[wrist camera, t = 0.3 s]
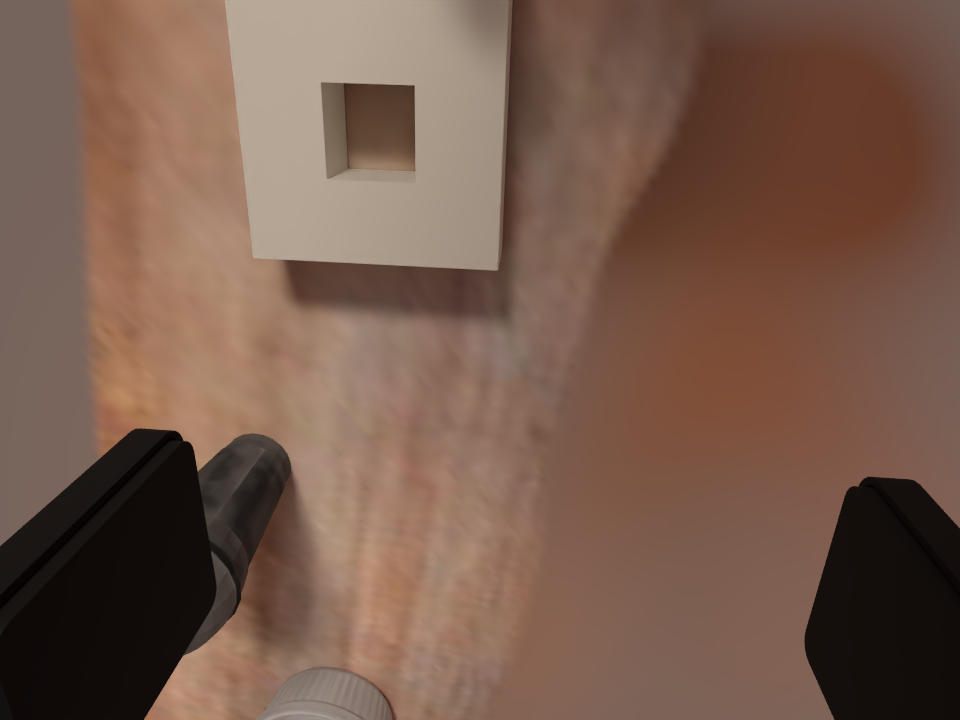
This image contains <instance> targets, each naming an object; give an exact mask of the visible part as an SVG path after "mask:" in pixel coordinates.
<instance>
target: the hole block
mask: <svg viewBox="0 0 960 720" xmlns="http://www.w3.org/2000/svg"><path fill="white" fill-rule="evenodd" d="M512 5H513V0H225V6H226V15H227V24H228V33H229V42H230V51H231V60H232V69H233V78H234V87H235V96H236V105H237V114H238V123H239V132H240V141H241V150H242V159H243V169H244V178H245V187H246V196H247V205H248V214H249V223H250V232H251V241H252V250H253V258H262V259H282V260H301V261H321V262H340V263H359V264H379V265H398V266H418V267H437V268H456V269H476V270H495V271H498V267H499V263H500V258H501V254H502V240H503V217H504V193H505V170H506V146H507V122H508V99H509V75H510V52H511V28H512ZM344 83H358V84H388V85H415V166H416V171H396V170H372V169H348V158H347V138H346V118H345V97H344Z"/></svg>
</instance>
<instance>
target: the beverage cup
mask: <svg viewBox="0 0 960 720" xmlns="http://www.w3.org/2000/svg"><path fill="white" fill-rule="evenodd" d="M289 474H290V461H289V458H288V455H287V453H286V452H285V450H284V449H283V448H282V446H281V445H279V444H278V443H277V442H275V441H274V440H273V439H271V438H268V437H266V436H264V435H259V434H246V435H242V436H240V437H238V438H236V439H234V440H233V441H232V442H231V443H230V444H229V445H228V446H227V447H225V448H223V449H222V450H221V451H220V452H219V453H218V454H216V455H215V456H214V457H213V458H212V459H211V460H210V461H209V462H208V463H207V464H206V465H205V466H204V467H202V468H201V469H200V470H199V471H198V478H199V483H200V489H201V495H202V501H203V507H204V513H205V519H206V524H207V530H208V536H209V542H210V548H211V554H212V560H213V565H214V571H215V577H216V584H217V590H216V597H215V601H214V604H213V607H212V609H211V611H210V612H209V614H208V616H207V617H206V619H205V621H204V622H203V624H202V625H201V627H200V629H199V630H198V632H197V634H196V635H195V637H194V639H193V640H192V642H191V643H190V645H189V647H188V648H187V650H186V652H185V653H184V655H186V654H188V653H190V652H192V651H194V650H196V649H198V648H199V647H201V646H202V645H203V644H205V643H206V642H207V641H208V640H209V639H210V638H211V637H213V636H214V635H215V634H216V633H217V632H218V631H219V630H220V629H221V628H222V627H223V626H224V624H225V623H226V621H227V620H229V619H230V618H231V617H232V616H233V615H234V614H235V612H236V610H237V607H238V605H239V603H240V600H241V592H242V589H243V587H244V584H245V580H246V577H247V573H248V567H249V564H250V562H251V560H252V558H253V556H254V553H255V551H256V549H257V547H258V545H259V542H260V540H261V538H262V536H263V534H264V531H265V529H266V527H267V525H268V523H269V520H270V518H271V516H272V514H273V512H274V509H275V507H276V505H277V503H278V501H279V499H280V496H281V494H282V492H283V489H284V487H285V482H286V480H287V478H288V476H289Z"/></svg>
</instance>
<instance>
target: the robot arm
mask: <svg viewBox="0 0 960 720" xmlns="http://www.w3.org/2000/svg"><path fill="white" fill-rule="evenodd" d="M216 590H217V584H216V577H215V571H214V565H213V560H212V554H211V548H210V542H209V536H208V530H207V524H206V519H205V513H204V507H203V501H202V495H201V489H200V483H199V478H198V472H197V466H196V460H195V454H194V450H193V447H192V445H191V443H189V442H187V441H183V438H182V437H181V435H180V434H179V433H178V432H176V431H170V430H155V429H134V430H133V431H131V432H130V433H128V434H127V435H126V436H125V437H124V438H123V439H122V440H120V441H119V442H118V443H117V444H116V445H115V446H114V447H112V448H111V449H110V450H109V451H108V452H107V453H106V454H105V455H103V456H102V457H101V458H100V459H99V460H98V461H97V462H95V463H94V464H93V465H92V466H91V467H90V468H89V469H88V470H86V471H85V472H84V473H83V474H82V475H81V476H80V477H79V478H77V479H76V480H75V481H74V482H73V483H72V484H70V485H69V486H68V487H67V488H66V489H65V490H64V491H63V492H61V493H60V494H59V495H58V496H57V497H56V498H55V499H54V500H52V501H51V502H50V503H49V504H48V505H47V506H46V507H44V508H43V509H42V510H41V511H40V512H39V513H38V514H36V516H34V517H33V518H32V519H31V520H30V521H29V522H27V523H26V524H25V525H24V526H23V527H22V528H21V529H19V530H18V531H17V532H16V533H15V534H14V535H13V536H12V537H10V538H9V539H8V540H7V541H6V542H5V543H3V544H2V545H1V546H0V720H144V718H145V717H146V715H147V714H148V712H149V710H150V709H151V707H152V705H153V704H154V702H155V701H156V699H157V697H158V696H159V694H160V692H161V691H162V689H163V687H164V686H165V684H166V683H167V681H168V679H169V678H170V676H171V674H172V673H173V671H174V670H175V668H176V666H177V665H178V663H179V661H180V660H181V658H182V656H183V655H184V653H185V652H186V650H187V648H188V647H189V645H190V643H191V642H192V640H193V639H194V637H195V635H196V634H197V632H198V630H199V629H200V627H201V625H202V624H203V622H204V621H205V619H206V617H207V616H208V614H209V612H210V611H211V609H212V607H213V604H214V601H215V597H216ZM805 651H806V656H807V659H808V662H809V664H810V666H811V668H812V671H813V673H814V675H815V677H816V680H817V682H818V684H819V686H820V688H821V691H822V693H823V695H824V697H825V699H826V702H827V704H828V706H829V709H830V711H831V713H832V715H833V717H834V720H960V528H959V527H958V526H957V525H956V524H955V523H954V522H953V521H952V520H951V518H950V517H949V516H948V515H947V514H946V513H945V512H944V511H943V510H942V509H941V507H940V506H939V505H938V504H937V503H936V502H935V501H934V500H933V499H932V497H931V496H930V495H929V494H928V493H927V492H926V491H925V490H924V489H923V488H922V486H921V485H920V484H918V483H917V482H916V481H914V480H909V479H894V478H878V477H867V478H865V479H863V480H862V482H861V483H860V484H859V487H856V486H853V487H851V488H849V489H848V491H847V492H846V495H845V498H844V501H843V504H842V508H841V511H840V515H839V518H838V522H837V525H836V528H835V532H834V536H833V539H832V542H831V546H830V549H829V553H828V556H827V559H826V563H825V566H824V570H823V573H822V577H821V580H820V583H819V587H818V590H817V594H816V597H815V601H814V604H813V607H812V611H811V614H810V618H809V621H808V625H807V628H806V632H805Z"/></svg>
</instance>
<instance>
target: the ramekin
mask: <svg viewBox="0 0 960 720" xmlns="http://www.w3.org/2000/svg"><path fill="white" fill-rule="evenodd" d="M256 720H393V719H392V713H391V710H390V707H389V705H388V703H387V701H386V699H385V698H384V696H383V695H382V693H381V692H380V691H379V690H378V688H377V687H376V686H375V685H374V684H372V683H371V682H370V681H368V680H367V679H365V678H364V677H362V676H360V675H358V674H356V673H353V672H351V671H347V670H344V669H339V668H332V667H319V668H312V669H309V670H306V671H303V672H300V673H298V674H296V675H294V676H293V677H291V678H289V679H288V680H287V681H286V682H285V683H284V684H283V685H282V686H281V687H280V689H279V690H278V691H277V693H276V694H275V696H274V697H273V699H272V700H271V702H270V703H269V705H268V706H267V707H266V709H265V711H264V712H263V713H262V714H261V715H260V716H259V717H258V718H257V719H256Z"/></svg>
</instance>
